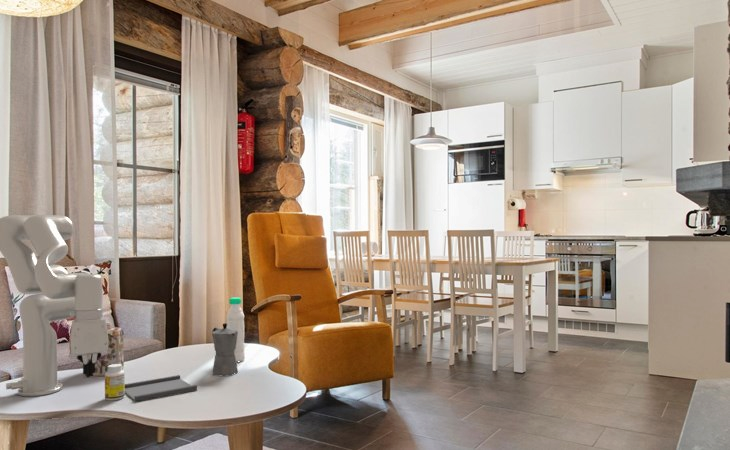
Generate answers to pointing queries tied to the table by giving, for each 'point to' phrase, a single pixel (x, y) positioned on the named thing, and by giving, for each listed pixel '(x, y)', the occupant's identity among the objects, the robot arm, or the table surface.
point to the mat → (158, 388)
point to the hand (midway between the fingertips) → (89, 375)
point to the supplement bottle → (114, 382)
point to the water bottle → (237, 326)
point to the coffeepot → (224, 350)
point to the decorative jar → (110, 351)
